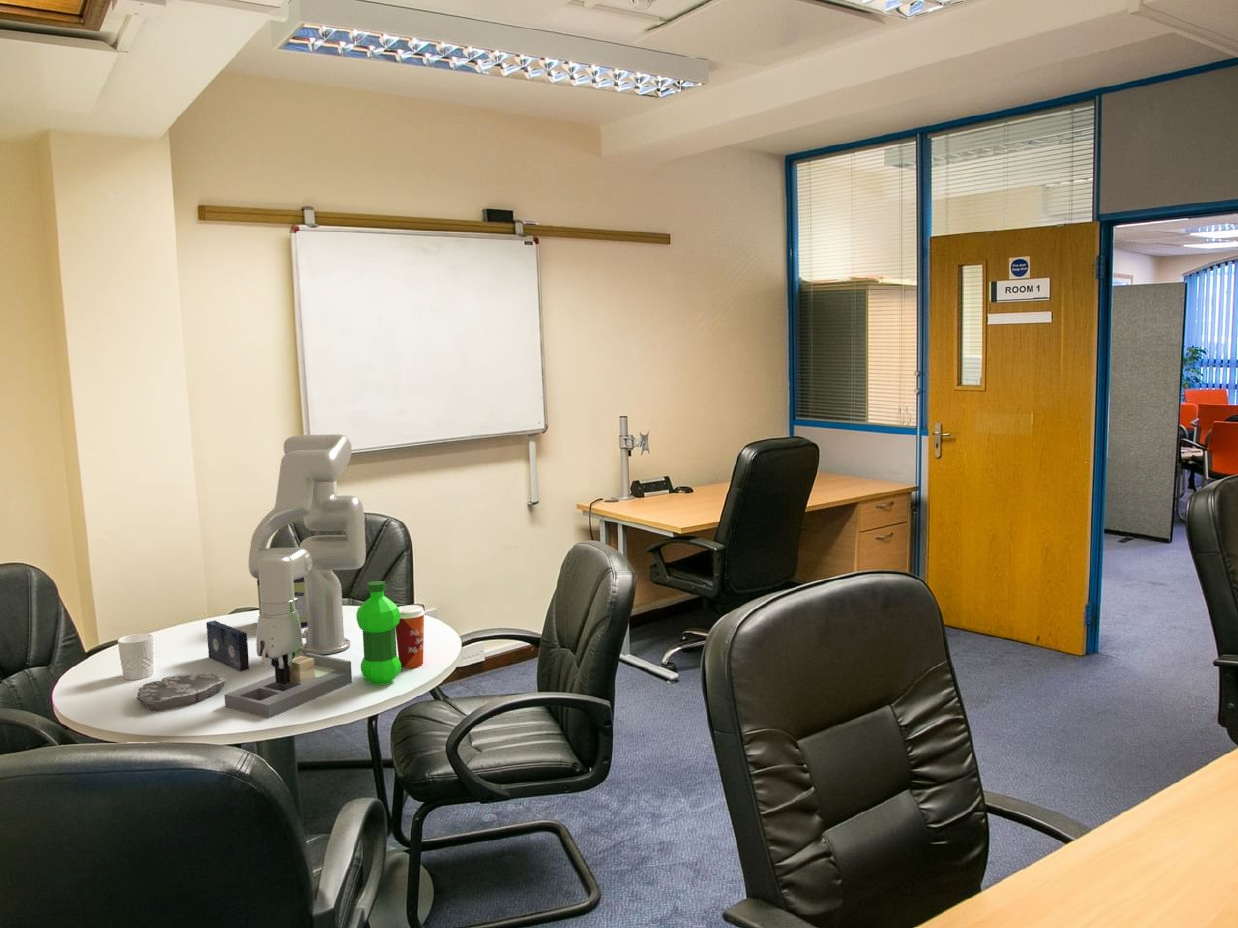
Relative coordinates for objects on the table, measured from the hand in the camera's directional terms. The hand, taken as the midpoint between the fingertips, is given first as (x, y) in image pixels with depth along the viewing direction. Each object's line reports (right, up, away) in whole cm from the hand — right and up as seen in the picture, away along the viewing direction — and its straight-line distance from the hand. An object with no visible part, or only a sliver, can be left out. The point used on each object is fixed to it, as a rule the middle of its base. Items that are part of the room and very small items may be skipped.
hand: (283, 682), depth 220 cm
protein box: (-21, +3, +62) cm, 65 cm away
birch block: (+3, 0, +5) cm, 5 cm away
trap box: (+1, -3, +2) cm, 4 cm away
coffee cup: (+26, -1, +22) cm, 34 cm away
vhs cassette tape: (-24, -1, +26) cm, 35 cm away
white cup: (-44, -3, +18) cm, 47 cm away
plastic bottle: (+21, -2, +10) cm, 23 cm away
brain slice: (-26, -5, +2) cm, 26 cm away
